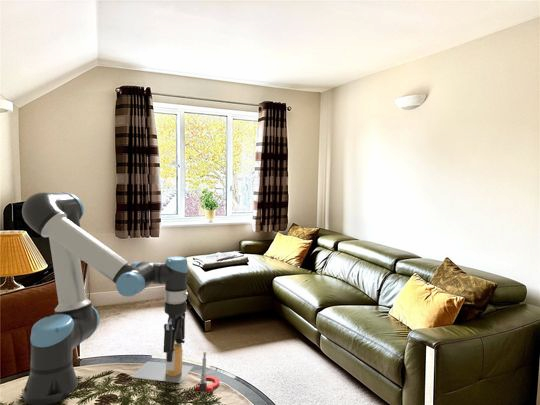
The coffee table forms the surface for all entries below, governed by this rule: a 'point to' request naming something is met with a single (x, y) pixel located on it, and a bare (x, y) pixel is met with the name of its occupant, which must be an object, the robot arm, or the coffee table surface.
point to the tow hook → (203, 384)
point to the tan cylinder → (176, 361)
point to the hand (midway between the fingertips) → (173, 365)
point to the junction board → (160, 372)
